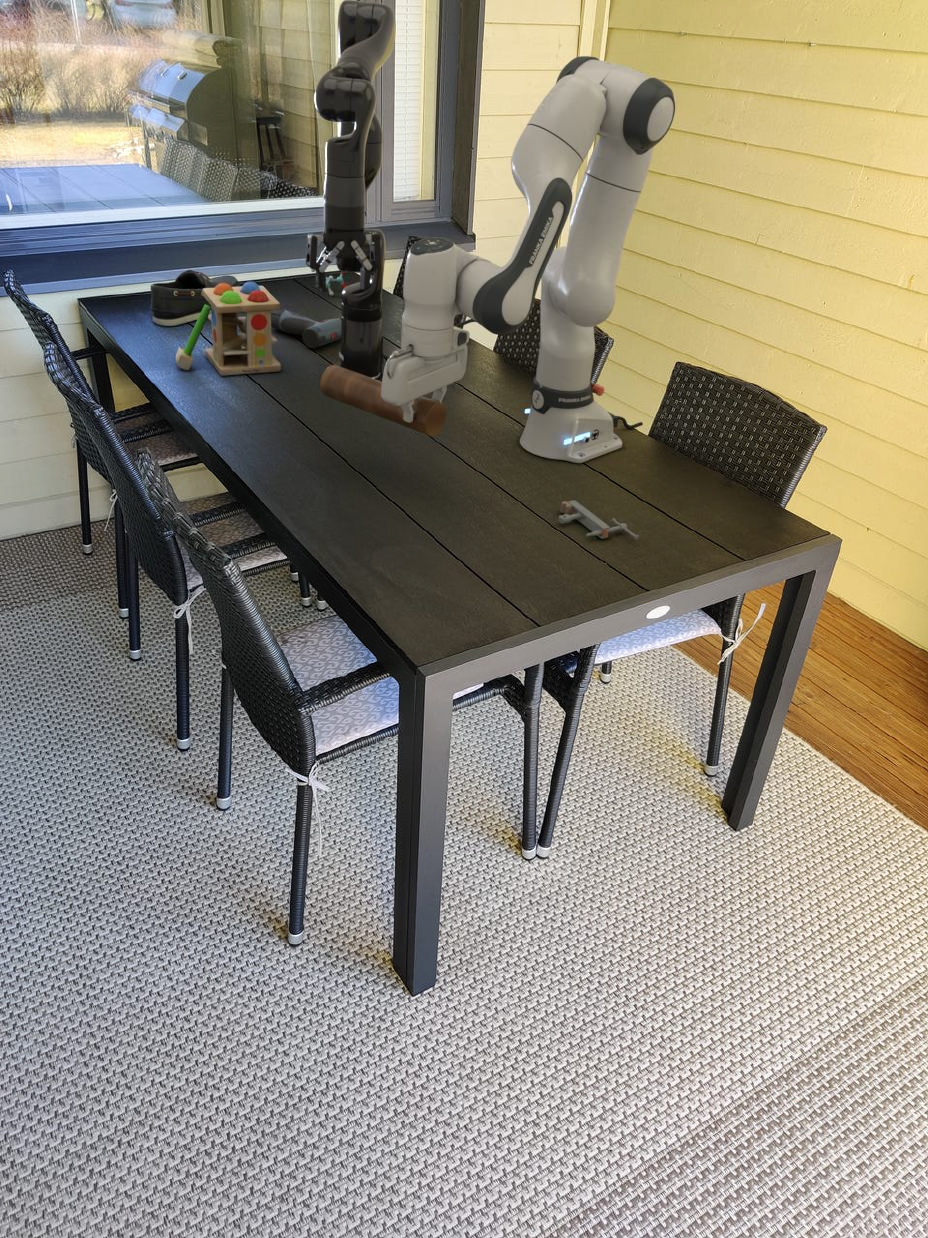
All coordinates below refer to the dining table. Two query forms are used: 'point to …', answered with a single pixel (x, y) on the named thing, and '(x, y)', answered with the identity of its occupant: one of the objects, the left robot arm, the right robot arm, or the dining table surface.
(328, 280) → the molecular model
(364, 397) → the rod
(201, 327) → the pounding bench toy
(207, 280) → the boat shoe
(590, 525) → the clamp
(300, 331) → the power drill
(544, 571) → the dining table surface
